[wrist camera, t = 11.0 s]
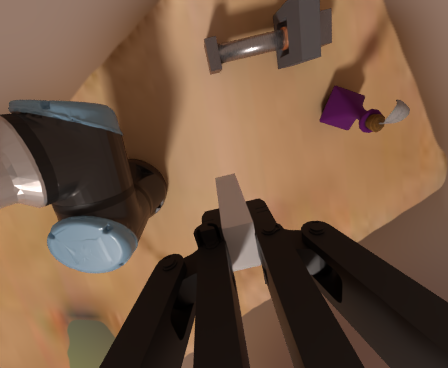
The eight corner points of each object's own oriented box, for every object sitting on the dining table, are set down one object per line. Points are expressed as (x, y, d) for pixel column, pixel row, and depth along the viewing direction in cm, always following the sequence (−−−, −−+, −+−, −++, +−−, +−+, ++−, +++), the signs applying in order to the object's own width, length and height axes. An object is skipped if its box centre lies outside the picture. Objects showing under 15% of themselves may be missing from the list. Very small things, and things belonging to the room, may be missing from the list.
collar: (278, 69, 43) (302, 61, 33) (273, 16, 40) (297, -13, 29) (292, 65, 43) (320, 56, 33) (288, 12, 40) (319, -18, 29)
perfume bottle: (339, 128, 50) (405, 145, 34) (312, 119, 49) (366, 132, 33) (355, 95, 48) (435, 96, 31) (326, 85, 46) (394, 81, 30)
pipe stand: (210, 74, 44) (211, 71, 37) (204, 46, 42) (204, 38, 35) (314, 49, 43) (332, 42, 37) (313, 20, 41) (332, 7, 35)
